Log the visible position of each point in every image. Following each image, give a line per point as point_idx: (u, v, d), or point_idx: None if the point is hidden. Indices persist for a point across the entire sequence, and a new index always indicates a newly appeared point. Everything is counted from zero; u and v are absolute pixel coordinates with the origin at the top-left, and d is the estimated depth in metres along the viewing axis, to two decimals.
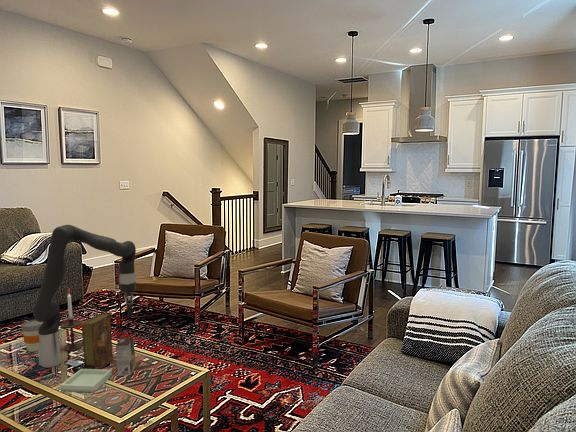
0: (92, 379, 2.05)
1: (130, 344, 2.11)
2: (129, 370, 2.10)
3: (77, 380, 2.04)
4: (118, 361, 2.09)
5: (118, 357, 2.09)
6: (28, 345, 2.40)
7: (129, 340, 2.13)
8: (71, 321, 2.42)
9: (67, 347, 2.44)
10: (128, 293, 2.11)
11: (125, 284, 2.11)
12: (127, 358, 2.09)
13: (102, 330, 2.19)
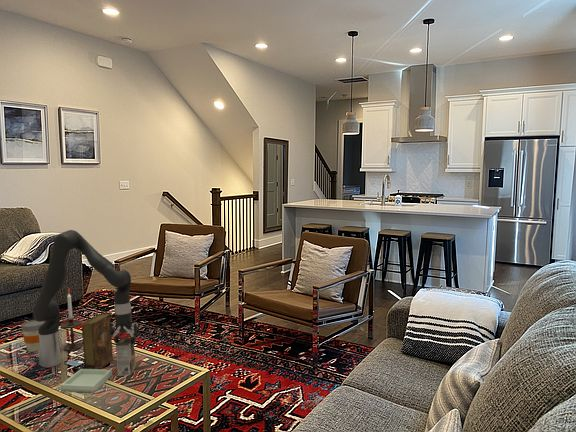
0: (92, 379, 2.05)
1: (130, 344, 2.11)
2: (129, 370, 2.10)
3: (77, 380, 2.04)
4: (118, 361, 2.09)
5: (118, 357, 2.09)
6: (28, 345, 2.40)
7: (129, 340, 2.13)
8: (71, 321, 2.42)
9: (67, 347, 2.44)
10: (130, 321, 2.11)
11: (128, 313, 2.09)
12: (127, 358, 2.09)
13: (102, 330, 2.19)
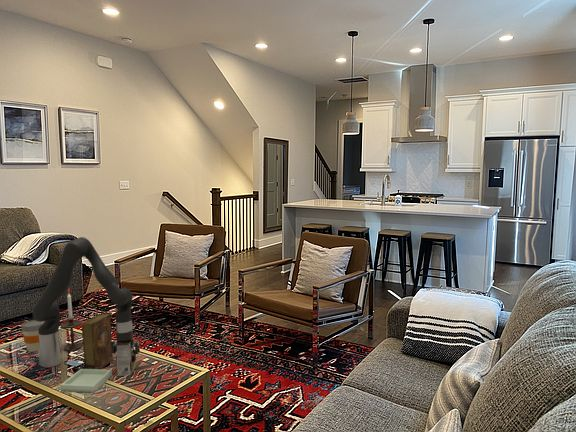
0: (92, 379, 2.05)
1: (130, 344, 2.11)
2: (129, 370, 2.10)
3: (77, 380, 2.04)
4: (118, 361, 2.09)
5: (118, 357, 2.09)
6: (28, 345, 2.40)
7: None
8: (71, 321, 2.42)
9: (67, 347, 2.44)
10: (132, 339, 2.12)
11: (129, 331, 2.10)
12: (127, 358, 2.09)
13: (102, 330, 2.19)
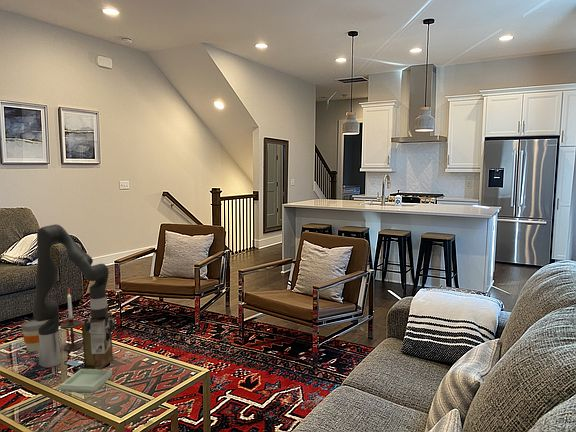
0: (92, 379, 2.05)
1: (104, 321, 2.03)
2: (103, 348, 2.02)
3: (77, 380, 2.04)
4: (92, 339, 2.01)
5: (92, 334, 2.01)
6: (28, 345, 2.40)
7: None
8: (71, 321, 2.42)
9: (67, 347, 2.44)
10: (106, 316, 2.04)
11: (104, 308, 2.03)
12: (101, 336, 2.01)
13: None
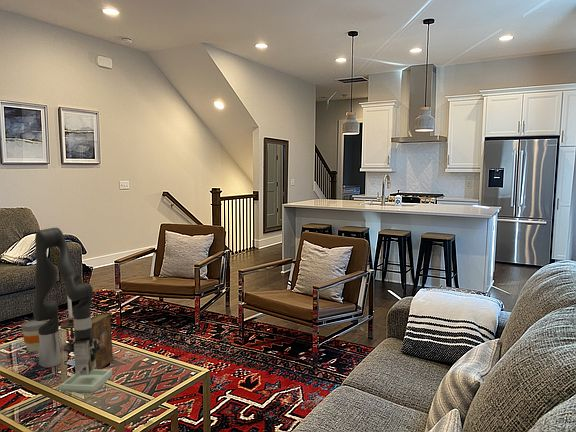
0: (92, 379, 2.05)
1: (88, 342, 1.98)
2: (87, 370, 1.98)
3: (77, 380, 2.04)
4: (76, 360, 1.97)
5: (75, 356, 1.97)
6: (28, 345, 2.40)
7: None
8: (71, 321, 2.42)
9: (67, 347, 2.44)
10: (91, 337, 2.00)
11: (88, 328, 1.98)
12: (85, 357, 1.97)
13: (102, 330, 2.19)
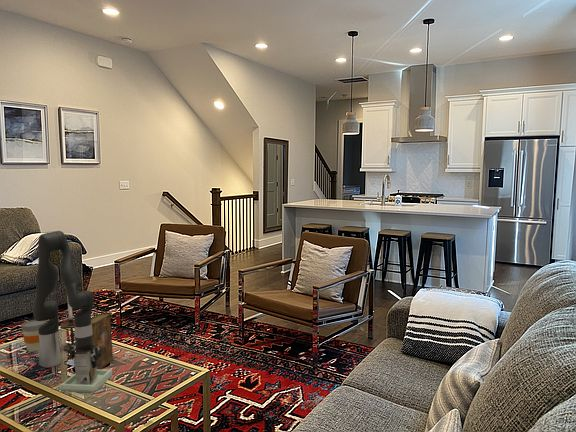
0: None
1: (89, 352, 1.99)
2: (88, 380, 1.99)
3: None
4: (76, 370, 1.98)
5: (76, 366, 1.97)
6: (28, 345, 2.40)
7: None
8: (71, 321, 2.42)
9: (67, 347, 2.44)
10: (91, 345, 2.00)
11: (89, 336, 1.99)
12: (86, 367, 1.98)
13: (102, 330, 2.19)
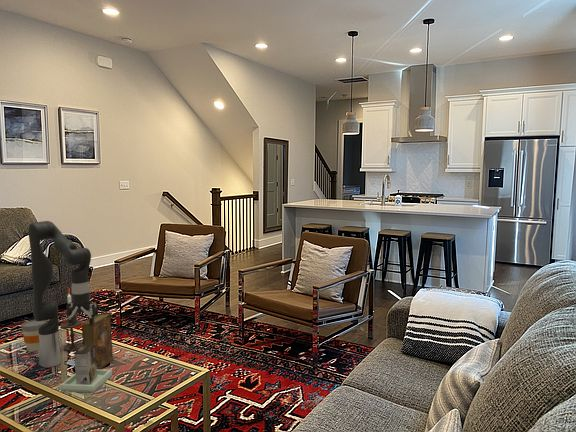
0: None
1: (89, 352, 1.99)
2: (88, 380, 1.99)
3: None
4: (76, 370, 1.98)
5: (76, 366, 1.97)
6: (28, 345, 2.40)
7: (89, 348, 2.01)
8: None
9: (67, 347, 2.44)
10: (88, 302, 2.00)
11: (86, 293, 1.98)
12: (86, 367, 1.98)
13: (102, 330, 2.19)
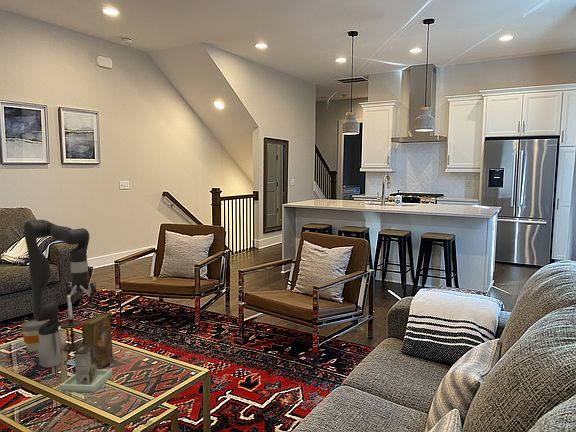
0: None
1: (89, 352, 1.99)
2: (88, 380, 1.99)
3: None
4: (76, 370, 1.98)
5: (76, 366, 1.97)
6: (28, 345, 2.40)
7: (89, 348, 2.01)
8: (71, 321, 2.42)
9: (67, 347, 2.44)
10: (87, 280, 2.06)
11: (85, 272, 2.04)
12: (86, 367, 1.98)
13: (102, 330, 2.19)
